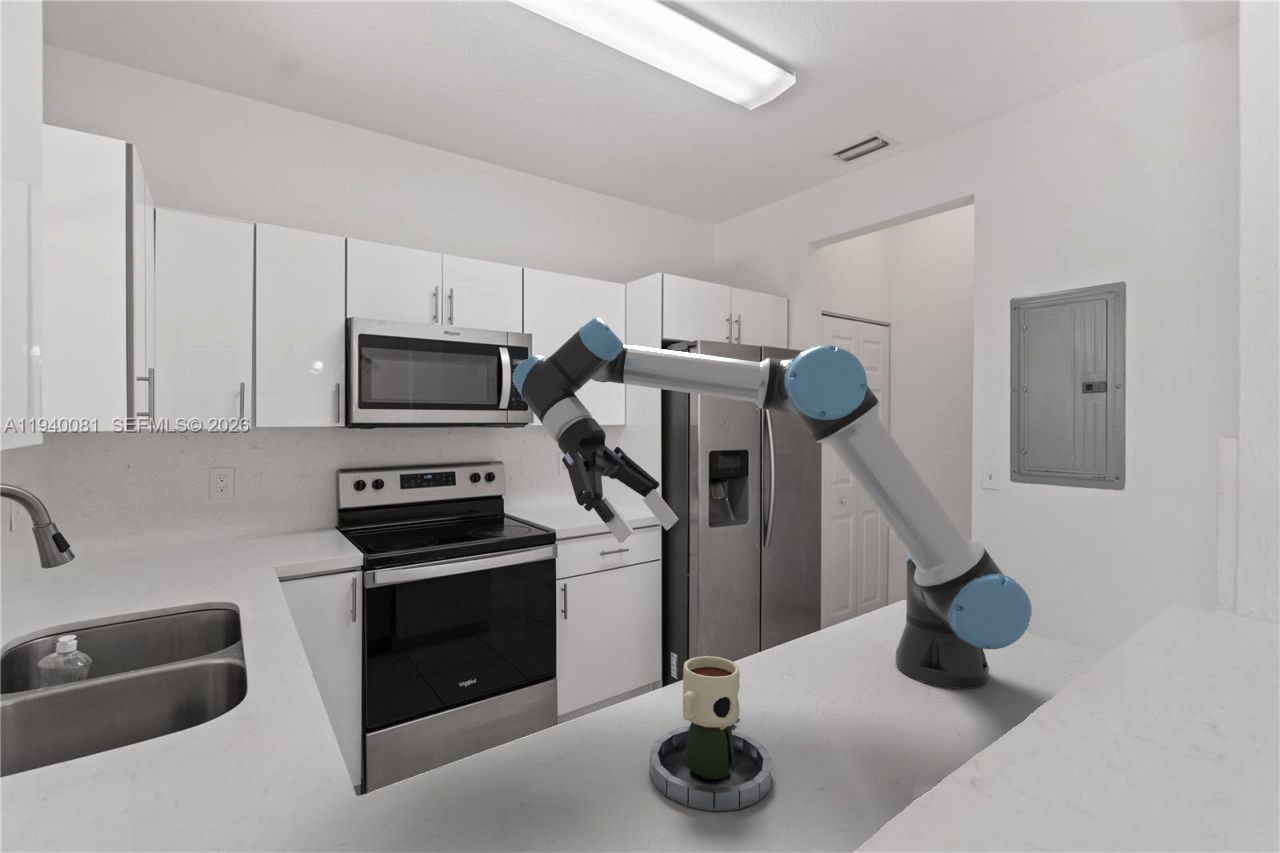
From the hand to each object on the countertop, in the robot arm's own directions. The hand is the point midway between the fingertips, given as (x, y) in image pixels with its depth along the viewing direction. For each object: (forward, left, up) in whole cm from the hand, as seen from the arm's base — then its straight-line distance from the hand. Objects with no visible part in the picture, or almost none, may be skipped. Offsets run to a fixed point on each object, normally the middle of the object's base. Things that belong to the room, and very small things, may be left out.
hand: (651, 530), depth 91 cm
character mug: (-5, +17, -27) cm, 33 cm away
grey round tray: (-5, +17, -28) cm, 33 cm away
